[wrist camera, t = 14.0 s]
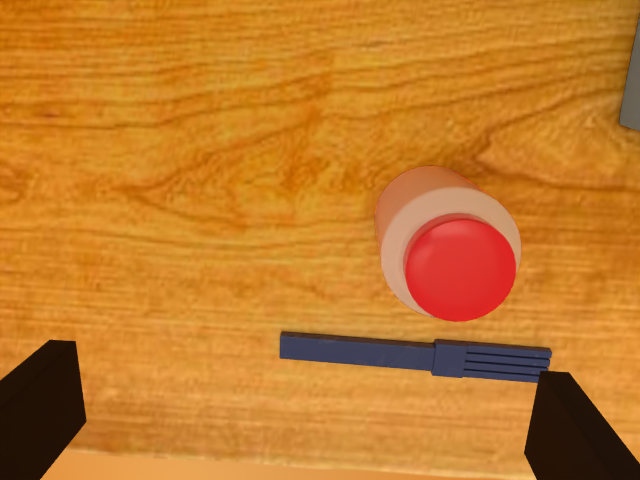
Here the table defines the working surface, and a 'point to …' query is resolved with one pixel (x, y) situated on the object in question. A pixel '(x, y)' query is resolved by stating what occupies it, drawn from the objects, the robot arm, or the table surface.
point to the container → (632, 89)
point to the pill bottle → (445, 244)
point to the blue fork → (422, 356)
